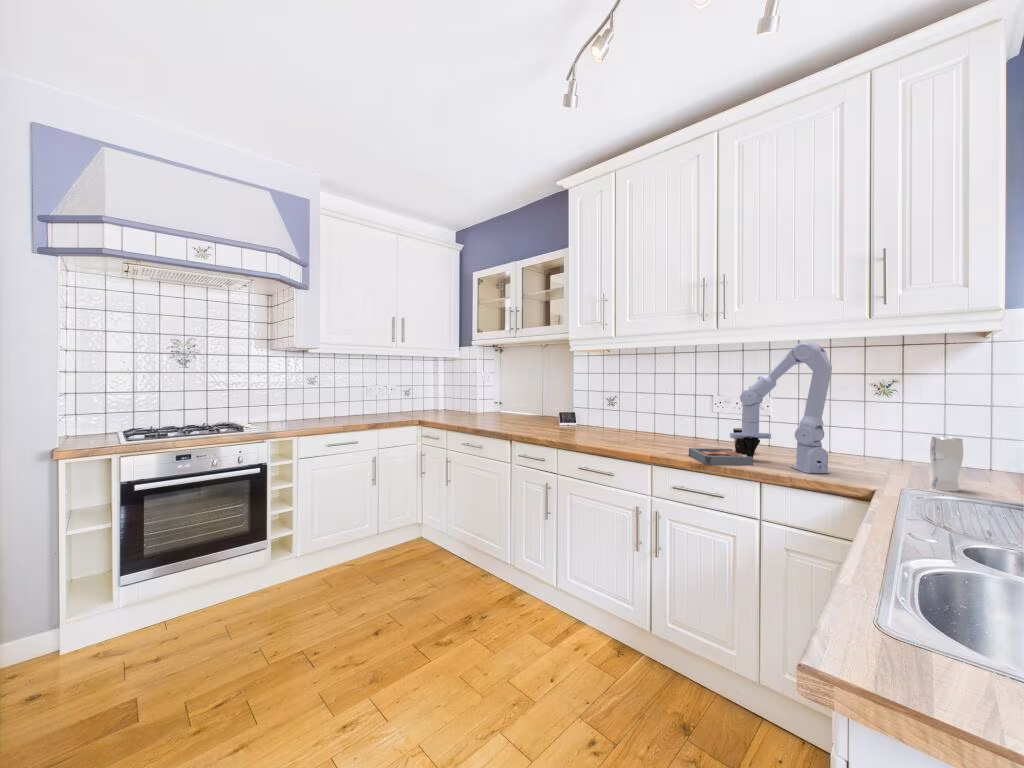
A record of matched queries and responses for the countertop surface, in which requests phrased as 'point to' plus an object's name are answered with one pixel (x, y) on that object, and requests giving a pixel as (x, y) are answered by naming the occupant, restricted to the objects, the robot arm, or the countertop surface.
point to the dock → (718, 457)
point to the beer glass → (946, 462)
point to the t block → (722, 453)
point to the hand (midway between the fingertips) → (749, 457)
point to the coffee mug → (739, 442)
